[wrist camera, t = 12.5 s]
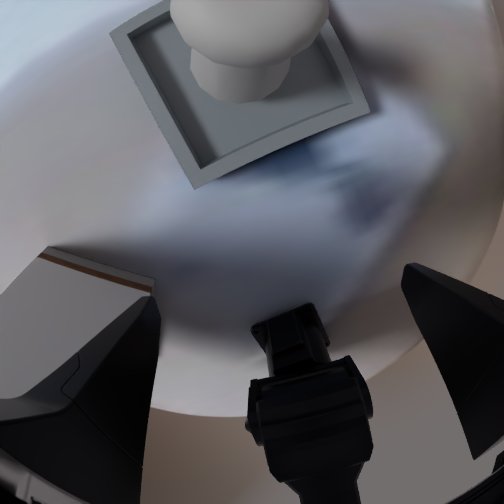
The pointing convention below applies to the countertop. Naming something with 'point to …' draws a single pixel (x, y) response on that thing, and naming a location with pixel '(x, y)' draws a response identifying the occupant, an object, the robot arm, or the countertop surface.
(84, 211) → the countertop surface
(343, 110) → the tray
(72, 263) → the display case
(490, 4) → the countertop surface
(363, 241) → the countertop surface
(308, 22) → the salt shaker
